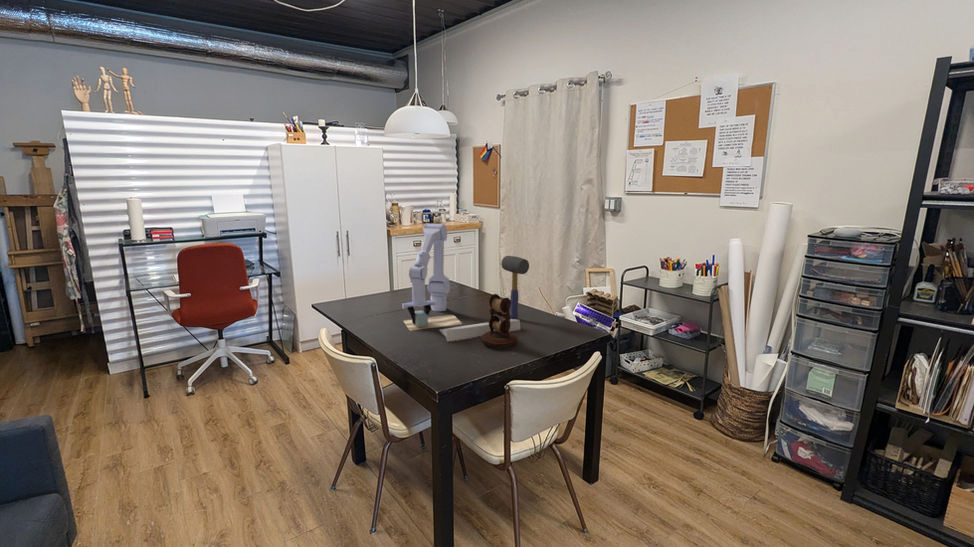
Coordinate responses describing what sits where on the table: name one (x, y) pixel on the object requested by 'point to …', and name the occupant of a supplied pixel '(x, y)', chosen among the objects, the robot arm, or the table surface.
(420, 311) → the block
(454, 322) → the birch board
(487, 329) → the decorative molding
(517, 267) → the rubber mallet
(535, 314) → the table surface
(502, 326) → the wooden spool holder
